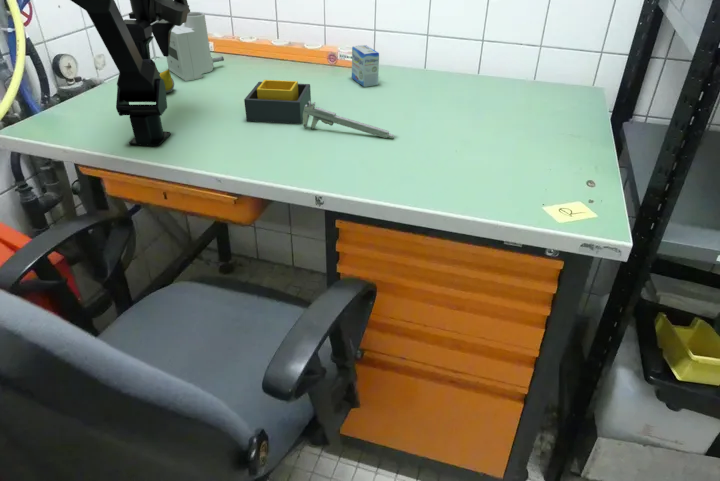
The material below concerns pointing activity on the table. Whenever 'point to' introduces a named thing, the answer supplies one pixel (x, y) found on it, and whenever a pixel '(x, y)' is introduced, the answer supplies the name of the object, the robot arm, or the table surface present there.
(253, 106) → the big bin
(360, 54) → the medicine box
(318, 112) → the caliper
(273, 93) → the small bin
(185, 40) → the grey machine part
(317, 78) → the table surface
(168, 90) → the yellow ridged cone
